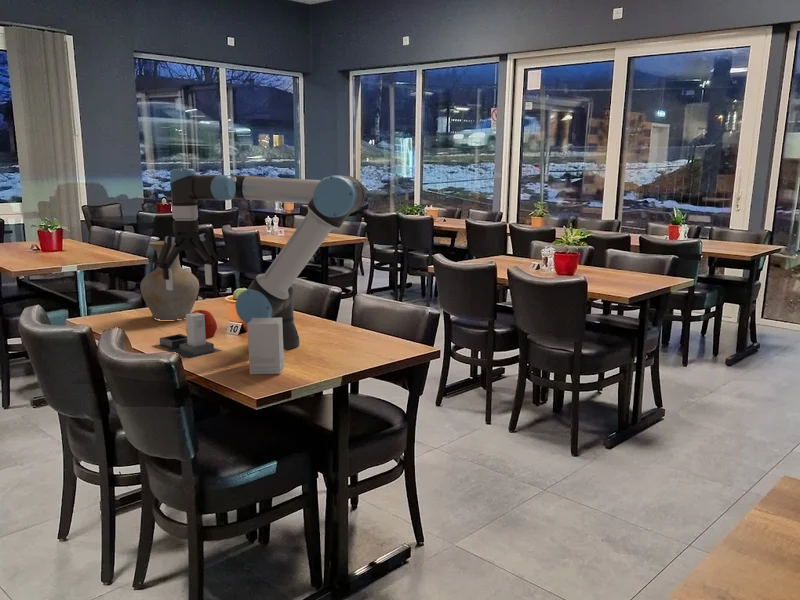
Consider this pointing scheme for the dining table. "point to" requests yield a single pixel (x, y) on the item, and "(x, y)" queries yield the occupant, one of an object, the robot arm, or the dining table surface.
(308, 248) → the robot arm
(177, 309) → the vase
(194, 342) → the plug
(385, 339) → the dining table surface
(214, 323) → the apple
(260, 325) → the supplement box
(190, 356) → the grey double tray
